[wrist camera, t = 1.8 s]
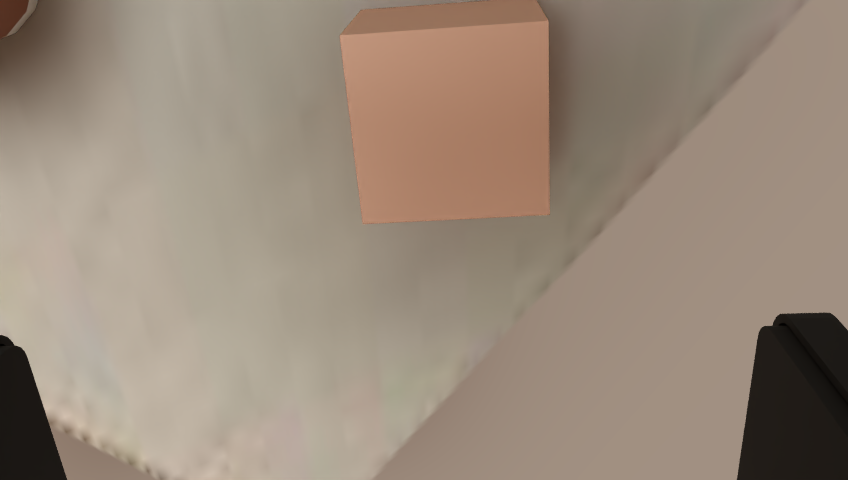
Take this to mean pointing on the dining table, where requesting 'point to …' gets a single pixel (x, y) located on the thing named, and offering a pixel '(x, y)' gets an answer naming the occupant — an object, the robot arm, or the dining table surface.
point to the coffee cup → (14, 15)
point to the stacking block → (449, 110)
